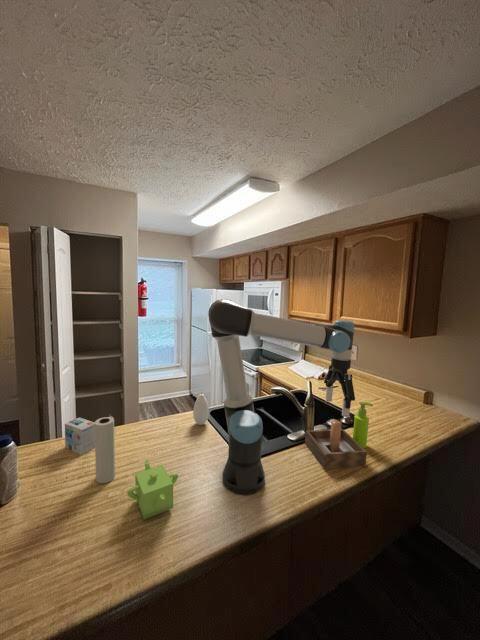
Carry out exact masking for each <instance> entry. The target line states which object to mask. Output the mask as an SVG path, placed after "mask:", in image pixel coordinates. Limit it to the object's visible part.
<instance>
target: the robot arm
mask: <svg viewBox="0 0 480 640" xmlns="http://www.w3.org/2000/svg"><path fill="white" fill-rule="evenodd" d="M207 313H208V315H207V316H208V321H209V326H210V331H211V335H212V338H213V339H215V340H216V343H217V348H218V353H219V361H220V366H221V372H222V373H221V374H222V379H223V384H224V390H225V396H226V398H225V400H224V401H223V407H224V413H225V419H226V425H227V433H228V450H227V451H228V452H227V453H228V454H227V456H228V457H227V459H226V463H225V466H224V468H223V469H222V470H223V471H222V483H223V485H224V487H225V489H227V490H229V491H230V492H232V493H233V494H237V495H243V496H248V495H253V494H255V493H256V494H257V492H260V491H261V490H262V489H263V487H264V486H265V479H266V478H265V477H266V476H265V475H266V474H265V470H264V466H263V464H262V445H263V444H262V443H263V441H262V440H263V432H264V427H263V420H262V418H261V416H260V415H259V414H258V413H256V411H255V407H254V401H253V397H252V395H250V394H249V393H248V385H247V381H246V374H245V368H244V361H243V354H242V348H241V342H240V337H249V336H251V335H252V336H256V337H261V338H266V339H271V340H276V341H277V340H278V341H282V342H288V343H292V344H293V343H294V344H298V345H303V346H309V347H315V348H318V349H324V350H329V351H331V362H330V365H329V366H328V370H327V372H326V375H325V378H324V380H323V383H324V384H325V387H326V389H325V390H326V391H325V398H324V399H325V403H326V402H327V403H328V402H329V403H330V402H333V392H334V384H335V383H336V381H337V382H338V383H339V385H340V387H341V390H342V394H343V401H342V408H341V409H342V411H341V416H342V417H349V416H350V412H351V411H350V409H351V406H352V405H351V404H352V401H353V402H354V401H356V397H355V389H354V384H353V375H352V373H351V374H350V373H349V374H348V371H349V370H350V369H351V366H352V365H351V363H352V360H351V359H352V354H353V353H352V352H353V345H354V344H353V343H354V337H355V336H354V335H355V323H354V321H350V320H341V319H340V320H339V319H337V320H334V324H331V325H330V324H315V323H314V324H312V323H305V322H303V321H301V322H300V321H296V320H291V319H286V318H282V317H278V316H271V315H267V314H264V313H263V314H262V313H258V312H256V311H254V310H253V309H252V308H249V307H244V306H242V305H239V304H238V303H235V302H234V301H232V300H230V299H228V298H221V299H217V300H215V301H214V302H213V303H212V304H211V305H210V306H209V308H208V312H207Z"/></svg>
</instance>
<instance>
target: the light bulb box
mask: <svg viewBox="0 0 480 640" xmlns="http://www.w3.org/2000/svg"><path fill="white" fill-rule="evenodd" d="M64 443H65V446H64V448H65V449H67V450H70V451H71V452H74V453H75V454H78V455H80V456H82V455H84V454H86V453H88V452H90V451H92V450H93V449H95V421H94V422H93V421H90V420H88V419H85V418H82V417H77V418H75V419H72V420H70V421H68V422H66V423H65V422H64Z"/></svg>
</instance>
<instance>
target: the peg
mask: <svg viewBox="0 0 480 640" xmlns="http://www.w3.org/2000/svg"><path fill="white" fill-rule="evenodd" d="M330 422H331V424H330V429H331V434H330V446H329V451H330V452H331V453H332V452H339V448H340V436H341V429H342V425H343V423H342V421H339V420H336V419H334V420H333V419H332V420H331V421H330Z"/></svg>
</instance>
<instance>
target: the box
mask: <svg viewBox="0 0 480 640" xmlns="http://www.w3.org/2000/svg"><path fill="white" fill-rule="evenodd" d="M330 434H331V428H330V429H312V430H305V434H304V435H305V438H304V439H305V440H304V444H305V445H306V447H307V448H308V449H309V451H310V452H311V454H312V455H313V457H314V458H315V460H316V461H317V462H318V463H319V465H320V466H321V468H322V469H323V470H329V469H330V470H333V469H343V468H357V467H366V466H367V456H368V454H367V453H368V451H367V450H366V449H365V448H363V447H362V446H360V445H359V444H358V443H357V442H356V441H355V440H354V439H353V436H351V435H350V434H349V433H348V432H347V431H346V430H344V429H343V428H341V436H340V448H339V452H332V453H331V452H330V451H329V446H330Z"/></svg>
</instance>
